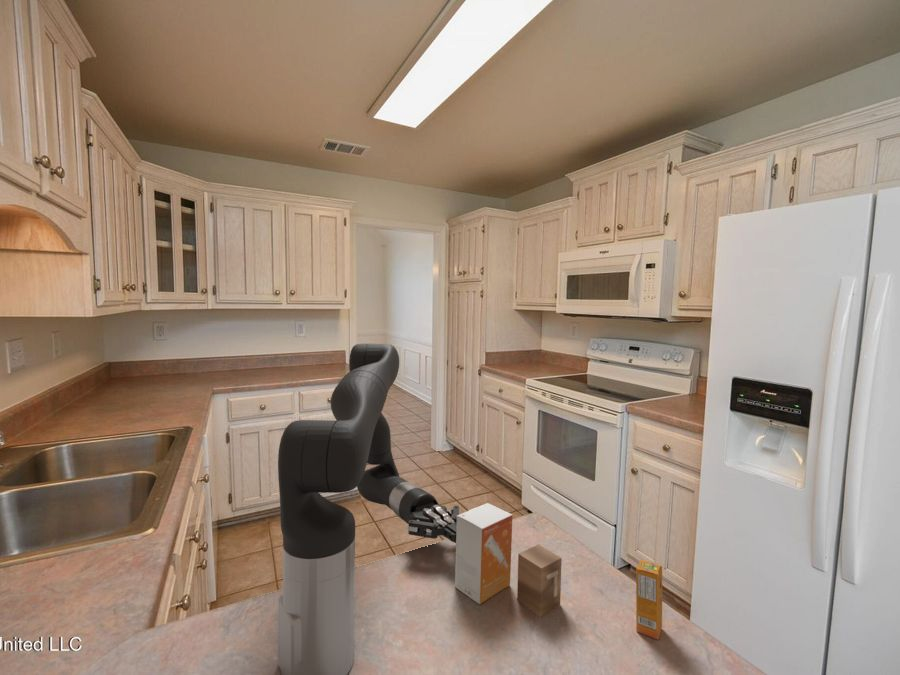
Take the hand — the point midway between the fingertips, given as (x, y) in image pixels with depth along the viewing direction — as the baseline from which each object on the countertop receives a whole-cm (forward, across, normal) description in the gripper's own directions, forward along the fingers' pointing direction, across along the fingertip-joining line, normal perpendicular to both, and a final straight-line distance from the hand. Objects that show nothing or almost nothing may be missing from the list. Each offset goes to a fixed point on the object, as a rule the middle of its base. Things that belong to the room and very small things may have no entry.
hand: (461, 538), depth 78 cm
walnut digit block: (+15, +5, +6) cm, 17 cm away
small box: (+6, 0, +6) cm, 9 cm away
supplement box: (+29, +14, +6) cm, 33 cm away
